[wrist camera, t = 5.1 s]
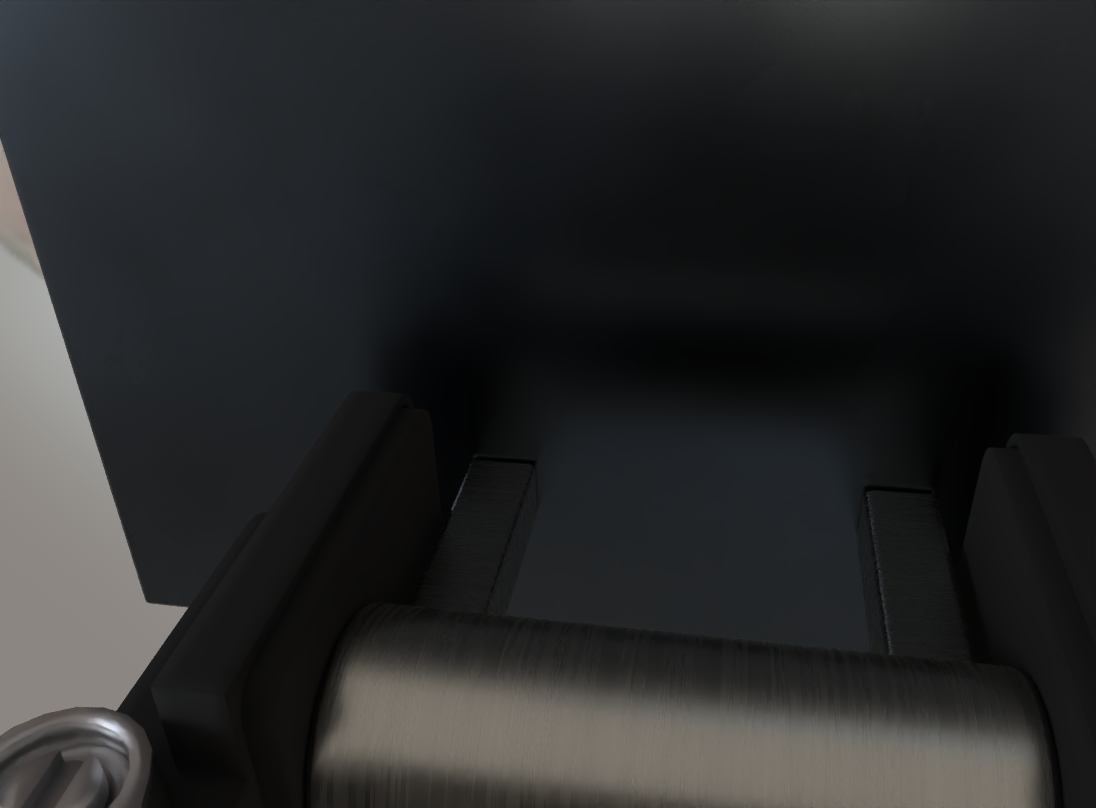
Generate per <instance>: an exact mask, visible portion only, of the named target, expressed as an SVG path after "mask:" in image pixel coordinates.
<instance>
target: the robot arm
mask: <svg viewBox="0 0 1096 808" xmlns="http://www.w3.org/2000/svg"><path fill="white" fill-rule="evenodd" d="M442 529H443V520H442V510H441V501H440V492H439V483H438V474H437V465H436V455H435V446H434V437H433V428H432V421H431V416H430V414H429V412H428V411H427V410H426V409H414V404H413V401H412V399H411V397H410V396H409V395H408V394H400V393H385V392H369V391H352V392H351V393H350V394H349V395H348V396H347V397H346V398H345V400H344V401H343V403H342V404H341V406H340V407H339V409H338V410H337V411H336V413H335V414H334V416H333V417H332V419H331V420H330V422H329V423H328V425H327V426H326V428H325V429H324V431H323V432H322V434H321V435H320V437H319V438H318V439H317V441H316V442H315V444H314V445H313V447H312V448H311V450H310V451H309V453H308V454H307V456H306V457H305V459H304V460H303V462H302V463H301V464H300V466H299V467H298V469H297V470H296V472H295V473H294V475H293V476H292V478H291V479H290V481H289V482H288V484H287V485H286V487H285V488H284V489H283V491H282V492H281V494H280V495H279V497H278V498H277V500H276V501H275V503H274V504H273V506H272V507H271V509H270V510H269V512H262V513H259V514H257V515H255V516H254V517H253V518H252V519H251V520H250V521H249V522H248V524H247V525H246V526H245V527H244V529H243V530H242V532H241V533H240V535H239V536H238V537H237V539H236V540H235V542H234V543H233V545H232V546H231V547H230V549H229V550H228V552H227V553H226V555H225V556H224V557H223V559H222V560H221V562H220V563H219V565H218V566H217V568H216V569H215V570H214V572H213V573H212V575H211V576H210V578H209V579H208V580H207V582H206V583H205V585H204V586H203V588H202V589H201V590H200V592H199V593H198V595H197V596H196V598H195V599H194V601H193V602H192V603H191V605H190V606H189V608H188V609H187V611H186V612H185V613H184V615H183V616H182V618H181V619H180V621H179V622H178V624H177V625H176V626H175V628H174V629H173V631H172V632H171V634H170V635H169V636H168V638H167V639H166V641H165V642H164V644H163V645H162V646H161V648H160V649H159V651H158V652H157V654H156V655H155V656H154V658H153V659H152V661H151V662H150V664H149V665H148V667H147V668H146V669H145V671H144V672H143V674H142V675H141V677H140V678H139V679H138V681H137V682H136V684H135V685H134V687H133V688H132V690H131V691H130V692H129V694H128V695H127V697H126V698H125V699H124V701H123V702H122V704H121V705H120V707H119V708H118V710H117V711H113V710H110V709H107V708H92V707H91V708H90V707H75V708H70V709H66V710H61V711H57V712H52V713H47V714H44V715H41V716H39V717H37V718H34V719H32V720H30V721H27V722H25V723H22V724H20V725H18V726H15V727H13V728H11V729H10V730H8V731H7V732H5V733H4V734H3V735H1V736H0V808H305V770H306V758H307V749H308V741H309V734H310V729H311V723H312V718H313V713H314V708H315V704H316V700H317V696H318V692H319V688H320V685H321V682H322V679H323V675H324V672H325V669H326V666H327V664H328V661H329V658H330V656H331V653H332V651H333V649H334V646H335V644H336V642H337V640H338V638H339V636H340V634H341V632H342V630H343V629H344V627H345V625H346V624H347V623H348V621H349V620H350V618H351V617H352V616H353V615H354V614H355V613H356V612H357V611H358V610H359V609H361V608H362V607H364V606H366V605H369V604H372V603H389V604H398V605H408V606H409V605H410V603H411V601H412V598H413V596H414V594H415V591H416V589H417V587H418V584H419V582H420V580H421V577H422V575H423V573H424V571H425V568H426V566H427V564H428V561H429V559H430V557H431V554H432V552H433V550H434V547H435V545H436V543H437V540H438V538H439V536H440V533H441V531H442ZM956 579H957V584H958V588H959V592H960V596H961V600H962V604H963V608H964V613H965V617H966V621H967V625H968V629H969V633H970V637H971V641H972V646H973V650H974V654H975V658H976V662H977V663H981V664H991V665H1001V666H1009V667H1013V668H1015V669H1017V670H1019V671H1021V672H1023V673H1024V674H1026V675H1027V676H1028V677H1029V678H1030V680H1031V681H1032V682H1033V684H1034V685H1035V687H1036V689H1037V690H1038V693H1039V695H1040V697H1041V699H1042V702H1043V704H1044V707H1045V710H1046V713H1047V716H1048V720H1049V723H1050V727H1051V731H1052V734H1053V739H1054V744H1055V749H1056V754H1057V760H1058V766H1059V773H1060V782H1061V790H1062V803H1063V808H1096V461H1095V459H1094V457H1093V455H1092V453H1091V451H1090V449H1089V446H1088V445H1087V443H1086V442H1085V440H1084V439H1083V438H1080V437H1070V436H1055V435H1039V434H1024V433H1014V434H1013V435H1012V436H1011V437H1010V438H1009V440H1008V442H1007V444H1006V448H996V447H989V448H988V449H987V450H986V452H985V453H984V456H983V460H982V463H981V468H980V472H979V476H978V481H977V485H976V490H975V494H974V499H973V503H972V508H971V512H970V516H969V521H968V525H967V530H966V534H965V539H964V543H963V548H962V552H961V556H960V561H959V565H958V570H957V574H956Z"/></svg>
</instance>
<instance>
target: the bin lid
mask: <svg viewBox="0 0 1096 808" xmlns="http://www.w3.org/2000/svg"><path fill="white" fill-rule="evenodd" d="M0 139H1V142H2V145H3V148H4V151H5V155H6V158H7V161H8V164H9V167H10V170H11V174H12V177H13V180H14V183H15V186H16V190H17V193H18V196H19V199H20V202H21V205H22V209H23V212H24V215H25V218H26V221H27V225H28V228H29V231H30V234H31V237H32V240H33V244H34V247H35V250H36V253H37V256H38V260H39V263H40V266H41V269H42V272H43V275H44V279H45V282H46V285H47V288H48V291H49V294H50V298H51V301H52V304H53V307H54V310H55V313H56V317H57V320H58V323H59V326H60V329H61V333H62V336H63V339H64V342H65V345H66V349H67V352H68V355H69V358H70V361H71V364H72V368H73V371H74V374H75V377H76V380H77V384H78V386H79V390H80V393H81V396H82V399H83V403H84V406H85V409H86V412H87V415H88V419H89V421H90V424H91V428H92V431H93V434H94V438H95V441H96V444H97V447H98V450H99V453H100V457H101V460H102V463H103V466H104V469H105V473H106V476H107V479H108V482H109V485H110V489H111V492H112V495H113V498H114V501H115V504H116V507H117V511H118V514H119V517H120V520H121V523H122V527H123V530H124V533H125V536H126V539H127V543H128V546H129V549H130V552H131V555H132V558H133V562H134V565H135V568H136V571H137V574H138V578H139V581H140V584H141V587H142V590H143V594H144V596H145V600H146V601H147V602H148V603H152V604H161V605H171V606H180V607H189V606H190V605H191V603H192V602H193V601H194V599H195V598H196V596H197V595H198V593H199V592H200V590H201V589H202V588H203V586H204V585H205V583H206V582H207V580H208V579H209V578H210V576H211V575H212V573H213V572H214V570H215V569H216V568H217V566H218V565H219V563H220V562H221V560H222V559H223V557H224V556H225V555H226V553H227V552H228V550H229V549H230V547H231V546H232V545H233V543H234V542H235V540H236V539H237V537H238V536H239V535H240V533H241V532H242V530H243V529H244V527H245V526H246V525H247V524H248V522H249V521H250V520H251V519H252V518H253V517H254V516H255V515H257V514H259V513H262V512H269V510H270V509H271V507H272V506H273V504H274V503H275V501H276V500H277V498H278V497H279V495H280V494H281V492H282V491H283V489H284V488H285V487H286V485H287V484H288V482H289V481H290V479H291V478H292V476H293V475H294V473H295V472H296V470H297V469H298V467H299V466H300V464H301V463H302V462H303V460H304V459H305V457H306V456H307V454H308V453H309V451H310V450H311V448H312V447H313V445H314V444H315V442H316V441H317V439H318V438H319V437H320V435H321V434H322V432H323V431H324V429H325V428H326V426H327V425H328V423H329V422H330V420H331V419H332V417H333V416H334V414H335V413H336V411H337V410H338V409H339V407H340V406H341V404H342V403H343V401H344V400H345V398H346V397H347V396H348V395H349V394H350V393H351V392H352V391H369V392H385V393H400V394H408V395H409V396H410V397H411V399H412V401H413V404H414V409H426V410H427V411H428V412H429V414H430V416H431V421H432V428H433V437H434V446H435V455H436V465H437V474H438V483H439V492H440V501H441V510H442V520H443V529H442V531H441V533H440V536H439V538H438V540H437V543H436V545H435V547H434V550H433V552H432V554H431V557H430V559H429V561H428V564H427V566H426V568H425V571H424V573H423V575H422V577H421V580H420V582H419V584H418V587H417V589H416V591H415V594H414V596H413V598H412V601H411V603H410V605H409V606H408V605H398V604H389V603H372V604H369V605H366V606H364V607H362V608H361V609H359V610H358V611H357V612H356V613H355V614H354V615H353V616H352V617H351V618H350V620H349V621H348V623H347V624H346V625H345V627H344V629H343V630H342V632H341V634H340V636H339V638H338V640H337V642H336V644H335V646H334V649H333V651H332V653H331V656H330V658H329V661H328V664H327V666H326V669H325V672H324V675H323V679H322V682H321V685H320V688H319V692H318V696H317V700H316V704H315V708H314V713H313V718H312V723H311V729H310V734H309V741H308V749H307V758H306V770H305V808H1063V803H1062V790H1061V782H1060V773H1059V766H1058V760H1057V754H1056V749H1055V744H1054V739H1053V734H1052V731H1051V727H1050V723H1049V720H1048V716H1047V713H1046V710H1045V707H1044V704H1043V702H1042V699H1041V697H1040V695H1039V693H1038V690H1037V689H1036V687H1035V685H1034V684H1033V682H1032V681H1031V680H1030V678H1029V677H1028V676H1027V675H1026V674H1024V673H1023V672H1021V671H1019V670H1017V669H1015V668H1013V667H1009V666H1001V665H991V664H981V663H977V662H976V658H975V654H974V650H973V646H972V641H971V637H970V633H969V629H968V625H967V621H966V617H965V613H964V608H963V604H962V600H961V596H960V592H959V588H958V584H957V579H956V574H957V570H958V565H959V561H960V556H961V552H962V548H963V543H964V539H965V534H966V530H967V525H968V521H969V516H970V512H971V508H972V503H973V499H974V494H975V490H976V485H977V481H978V476H979V472H980V468H981V463H982V460H983V456H984V453H985V452H986V450H987V449H988V448H989V447H996V448H1006V444H1007V442H1008V440H1009V438H1010V437H1011V436H1012V435H1013V434H1014V433H1024V434H1039V435H1055V436H1070V437H1080V438H1083V439H1084V440H1085V442H1086V443H1087V445H1088V446H1089V449H1090V451H1091V453H1092V455H1093V457H1094V459H1095V461H1096V0H0Z"/></svg>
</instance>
